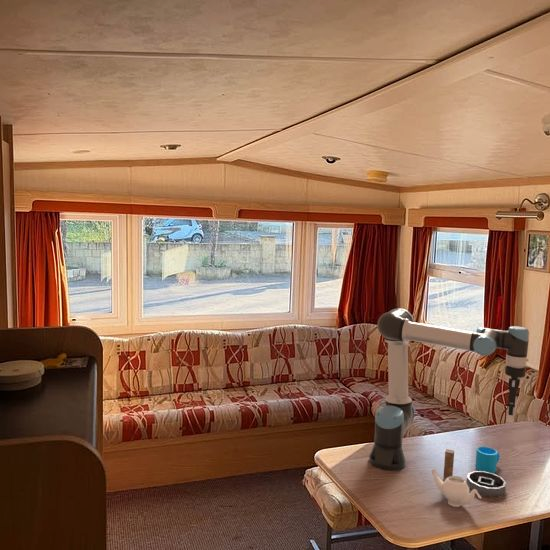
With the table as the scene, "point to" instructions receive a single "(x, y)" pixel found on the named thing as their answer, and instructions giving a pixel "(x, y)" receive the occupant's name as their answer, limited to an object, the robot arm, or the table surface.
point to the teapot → (455, 490)
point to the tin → (486, 483)
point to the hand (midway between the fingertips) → (511, 416)
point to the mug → (486, 459)
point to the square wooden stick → (448, 464)
